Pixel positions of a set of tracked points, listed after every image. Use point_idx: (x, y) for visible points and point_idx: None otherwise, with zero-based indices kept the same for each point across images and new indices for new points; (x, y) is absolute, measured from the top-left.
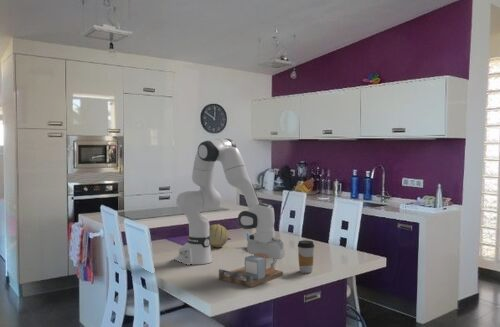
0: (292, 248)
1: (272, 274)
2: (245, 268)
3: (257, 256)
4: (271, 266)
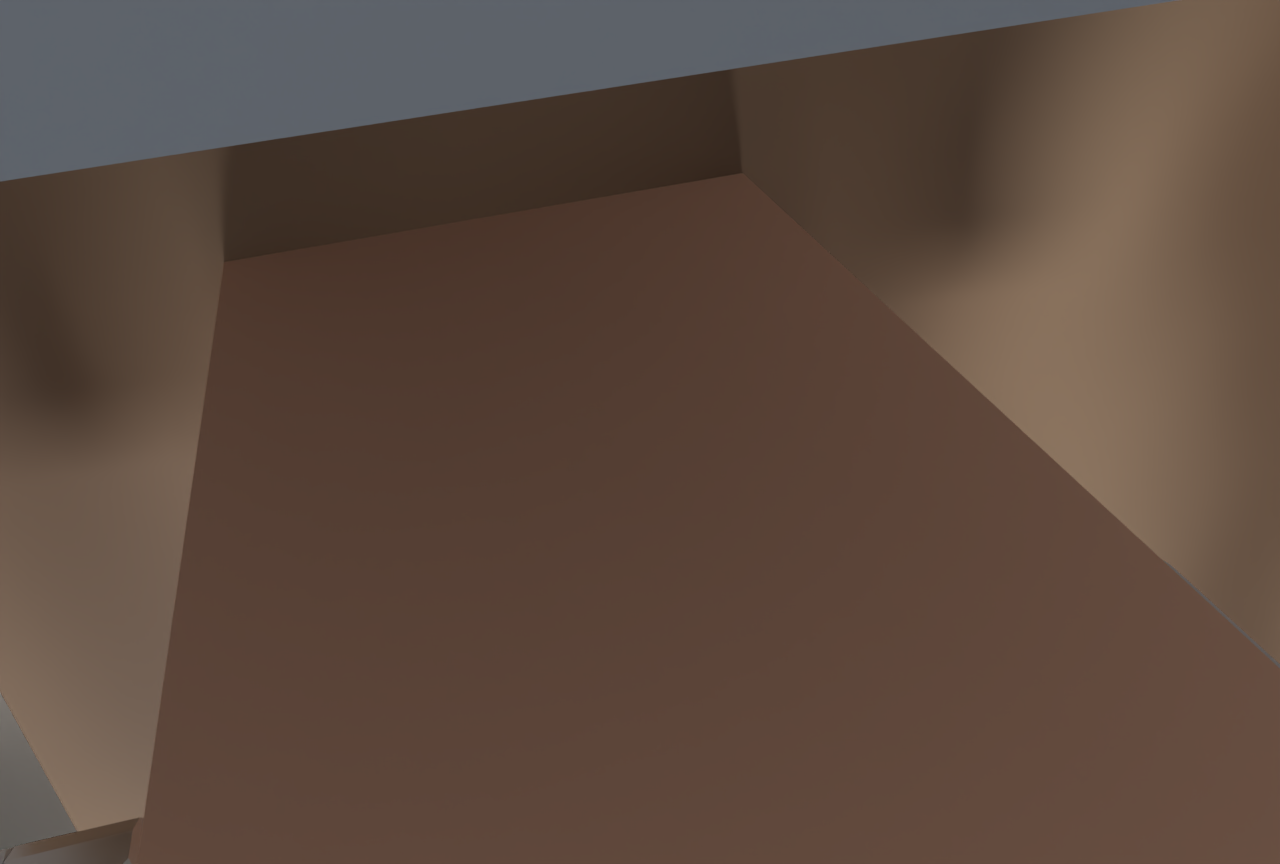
0: None
1: (6, 546)
2: None
3: (1253, 843)
4: (73, 844)
